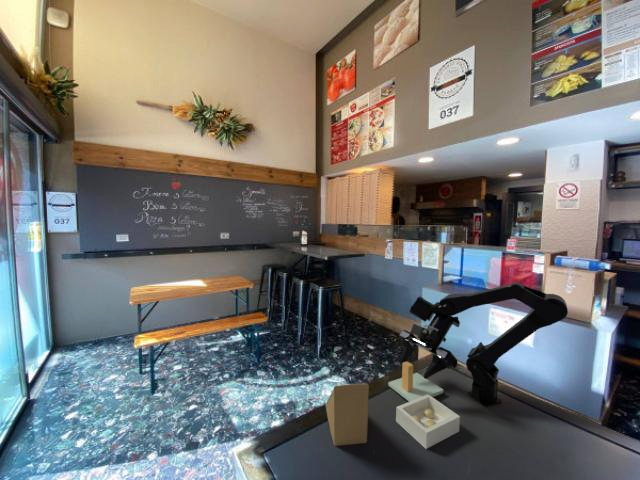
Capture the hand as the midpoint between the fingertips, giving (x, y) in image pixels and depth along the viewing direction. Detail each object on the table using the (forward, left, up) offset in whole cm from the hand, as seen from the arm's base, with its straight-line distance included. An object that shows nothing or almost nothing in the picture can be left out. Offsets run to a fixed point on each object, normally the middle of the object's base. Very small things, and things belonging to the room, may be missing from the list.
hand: (412, 370), depth 84 cm
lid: (-2, 0, -8) cm, 8 cm away
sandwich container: (+25, +5, -8) cm, 26 cm away
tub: (+5, +13, -7) cm, 16 cm away
